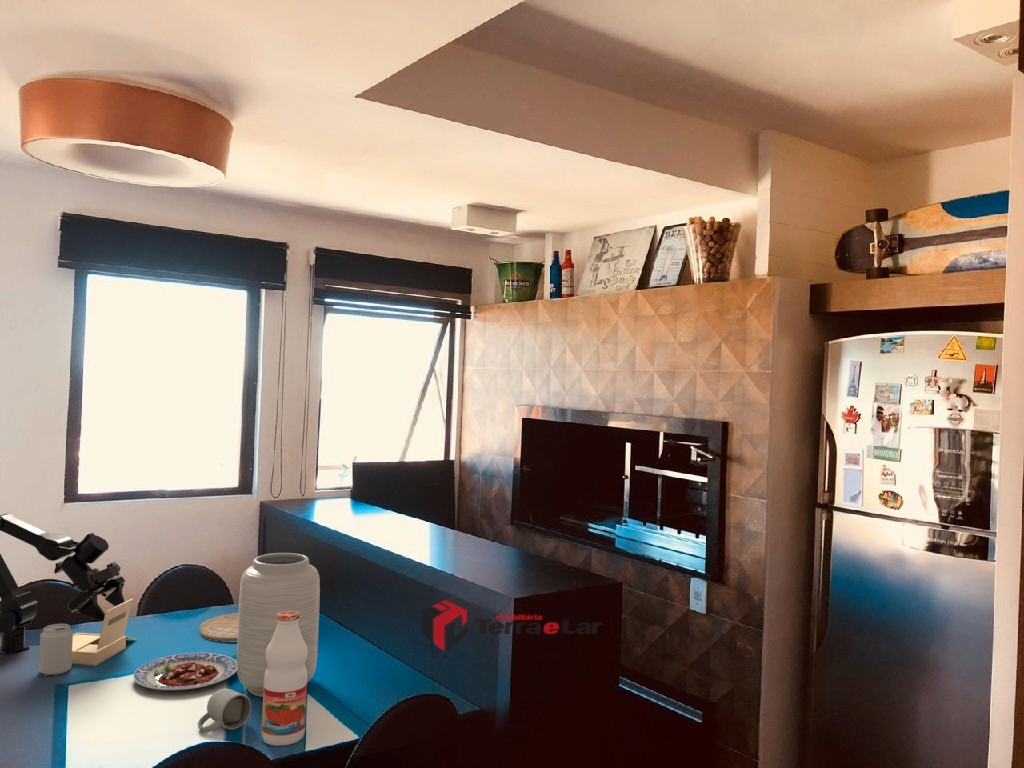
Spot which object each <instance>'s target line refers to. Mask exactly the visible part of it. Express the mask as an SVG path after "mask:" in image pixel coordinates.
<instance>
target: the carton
mask: <svg viewBox="0 0 1024 768" xmlns="http://www.w3.org/2000/svg"><path fill="white" fill-rule="evenodd" d="M100 634H101V633H91V632H89V633H88V632H76V633H73V643H72V665H79V664H82V665H81V666H93V667H95V666H98V665H100V664H101V663H103V662H104V661H106V660H108V659H110V658H111V657H113V656H115V655H116V654H118V653H119V652H122V651H124V650H125V649H126V644H127V640H137V638H135V637H130V636H127V635H124V636H122V637H120V638H119V639H117V640H115V641H113V642H111V643H110V644H108V645H106V646H104V647H102V648H101V649H99V650H97V646H98V642H99V638H100Z"/></svg>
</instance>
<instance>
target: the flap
mask: <svg viewBox="0 0 1024 768" xmlns="http://www.w3.org/2000/svg"><path fill="white" fill-rule="evenodd" d="M132 604H133V598H131V599H128V600H126V601H125V602H124V603H122V604H120V605H118V606H116V607H115V606H114V607H112V608H110V609H109V608H108V610H105V612H104V613H105V617H104V621H102V627H101V630H100V633H99V634H100V638H99V642H98V646H97V650H99V649H101V648H102V647H104V646H106V645H108V644H110V643H111V642H113V641H115V640H117V639H119V638H120V637H122V636H125V634H126V630H127V625H128V621H129V616H130V612H131V608H132V606H133V605H132Z"/></svg>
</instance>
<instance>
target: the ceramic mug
mask: <svg viewBox="0 0 1024 768" xmlns="http://www.w3.org/2000/svg"><path fill="white" fill-rule="evenodd" d="M251 713H252V702H251V700H250V698H249V697H248V695H246V694H244V693H240V692H238V691H236V690H233V689H229V688H221V689H218V690H217V691H215V692H214V693H212V695H211V696H210V697H209V699H208V701H207V704H206V713H205V714H204V715H203V716H201V718H200V719H198V722H197V727H198V730H199V731H200V732H201V733H203V734H207V733H211V732H213V731H215V730H216V729H218V728H219V727H223V728H224V729H227V730H230V731H231V730H232V731H233V730H236V729H238V728H240V727H242V726H244V725H245V723H246V722H247V721H248V719H249V717H250V716H251V715H250V714H251ZM209 719H211V720H213V721H214V722H213V723H211V724H208V725H206V726H203V725H204V724H205V723H206V722H207V721H208V720H209Z"/></svg>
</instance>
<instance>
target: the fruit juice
mask: <svg viewBox="0 0 1024 768" xmlns="http://www.w3.org/2000/svg"><path fill="white" fill-rule="evenodd" d="M298 621H299V612H297V611H292V610H287V611H281V612H279V613H278V614H277V622H278V625H277V627H276V630H275V633H274V635H273V638H272V640H271V642H270V643H269V645H268V646H267V649H266V654H265V657H266V662H267V669H266V671H265V675H264V686H263V697H262V718H261V738H262V740H263V742H264V743H265V744H267V745H269V746H277V747H278V746H279V747H281V746H282V747H283V746H290V745H293V744H296V743H298V742H299V741H301V740H302V739H303V738H304V736H305V733H306V714H307V713H306V712H307V710H306V709H307V688H308V682H307V670H306V667H305V661H306V658H307V645H306V643H305V642H304V640H303V638H302V635H301V632H300V628H299V625H298Z"/></svg>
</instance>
